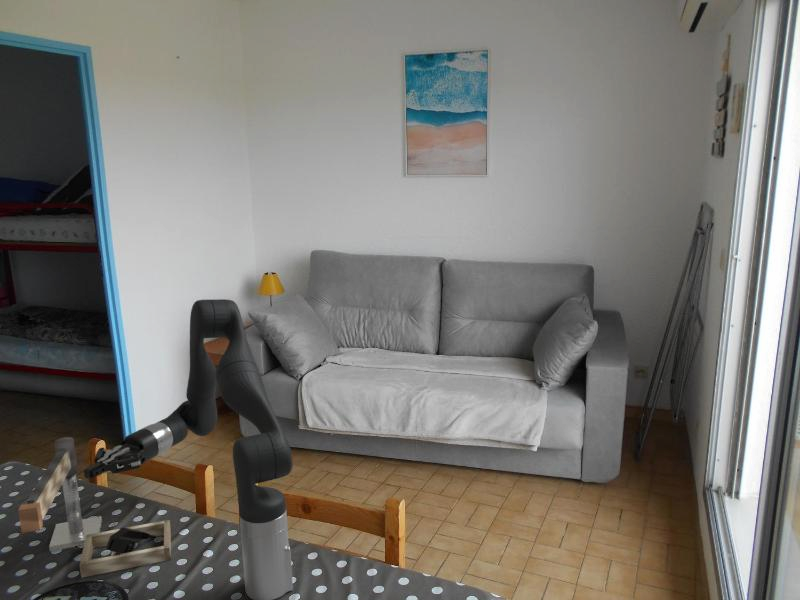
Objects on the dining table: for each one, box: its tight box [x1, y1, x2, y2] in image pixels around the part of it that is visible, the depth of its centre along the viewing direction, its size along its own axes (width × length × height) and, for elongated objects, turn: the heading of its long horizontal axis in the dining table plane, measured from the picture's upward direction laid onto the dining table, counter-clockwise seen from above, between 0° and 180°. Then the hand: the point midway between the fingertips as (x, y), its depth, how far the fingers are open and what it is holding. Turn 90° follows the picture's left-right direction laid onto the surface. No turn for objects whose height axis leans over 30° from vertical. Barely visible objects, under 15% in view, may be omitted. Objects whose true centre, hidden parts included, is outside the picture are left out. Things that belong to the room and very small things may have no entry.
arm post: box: [48, 473, 103, 552], centre depth 152 cm, size 10×10×16 cm
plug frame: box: [79, 519, 172, 578], centre depth 146 cm, size 18×12×3 cm, turn 109°
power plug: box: [105, 527, 157, 556], centre depth 146 cm, size 6×8×12 cm
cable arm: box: [17, 436, 79, 534], centre depth 138 cm, size 30×4×8 cm, turn 13°
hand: (86, 474), depth 141 cm, fingers closed
